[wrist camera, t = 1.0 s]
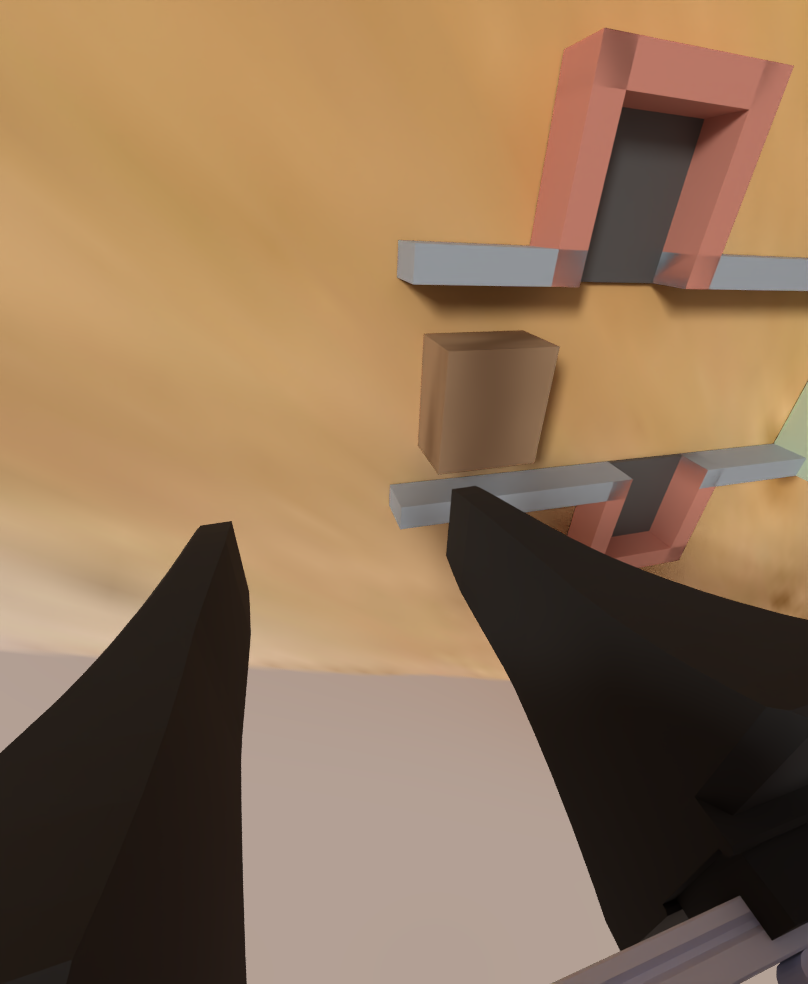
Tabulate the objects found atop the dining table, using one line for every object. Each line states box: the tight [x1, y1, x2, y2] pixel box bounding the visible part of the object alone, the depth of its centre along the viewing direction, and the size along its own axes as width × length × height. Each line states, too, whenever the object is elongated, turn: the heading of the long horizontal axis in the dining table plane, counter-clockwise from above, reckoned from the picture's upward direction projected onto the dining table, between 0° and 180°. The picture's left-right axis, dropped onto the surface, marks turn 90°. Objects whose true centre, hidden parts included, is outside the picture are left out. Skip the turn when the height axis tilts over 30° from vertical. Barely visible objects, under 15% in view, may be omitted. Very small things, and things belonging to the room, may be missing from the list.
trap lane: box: [389, 28, 808, 568], centre depth 21 cm, size 26×22×3 cm
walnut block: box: [418, 331, 560, 475], centre depth 18 cm, size 4×5×3 cm
